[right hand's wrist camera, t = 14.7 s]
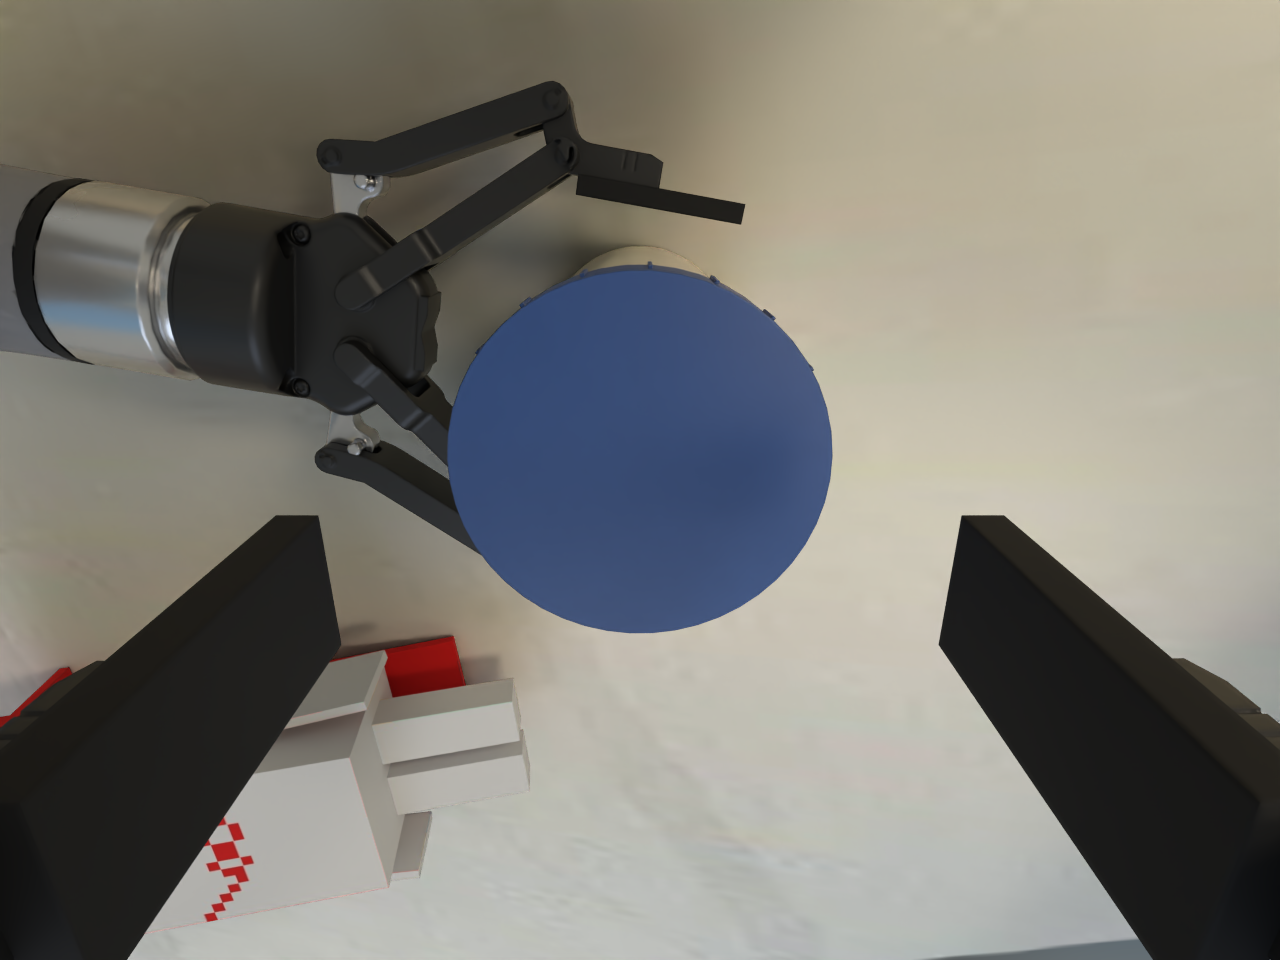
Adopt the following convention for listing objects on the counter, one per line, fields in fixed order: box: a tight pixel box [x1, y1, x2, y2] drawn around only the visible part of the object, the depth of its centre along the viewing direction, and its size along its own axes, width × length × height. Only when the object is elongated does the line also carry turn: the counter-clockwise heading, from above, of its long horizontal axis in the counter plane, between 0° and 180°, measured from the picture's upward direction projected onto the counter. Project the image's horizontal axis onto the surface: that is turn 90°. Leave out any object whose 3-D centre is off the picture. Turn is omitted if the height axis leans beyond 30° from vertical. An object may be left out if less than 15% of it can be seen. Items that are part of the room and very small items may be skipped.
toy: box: [0, 636, 530, 934], centre depth 40 cm, size 12×13×30 cm
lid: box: [447, 261, 832, 633], centre depth 20 cm, size 10×10×2 cm
